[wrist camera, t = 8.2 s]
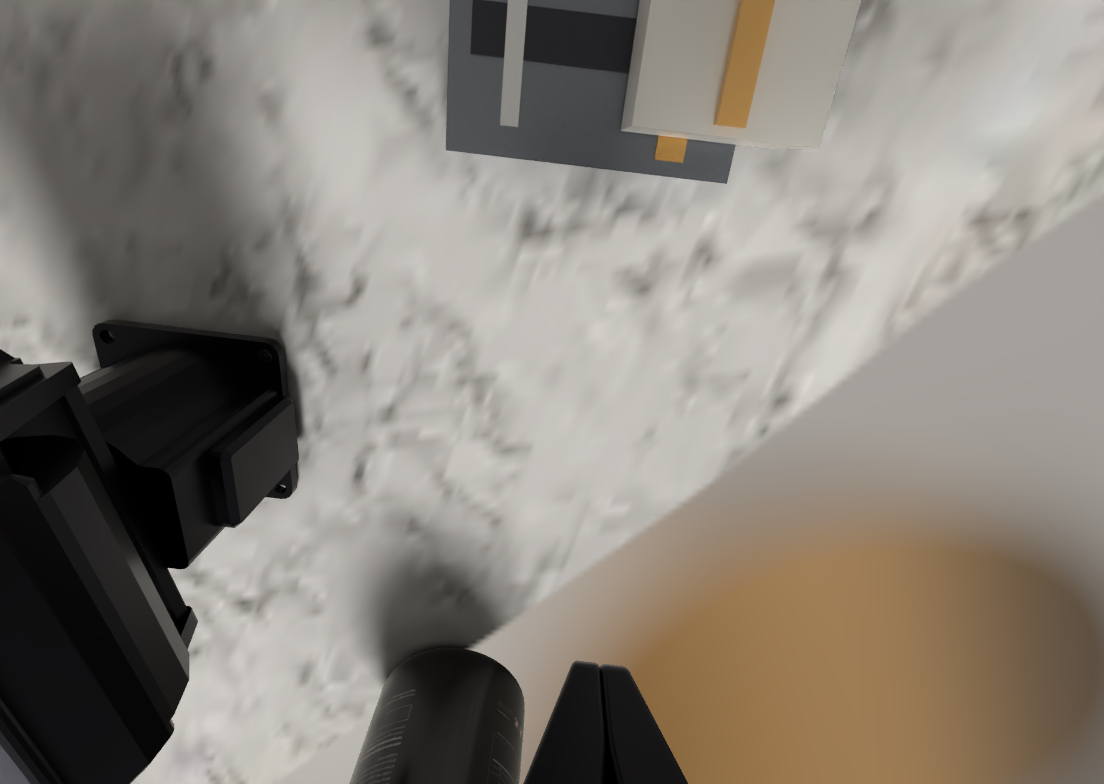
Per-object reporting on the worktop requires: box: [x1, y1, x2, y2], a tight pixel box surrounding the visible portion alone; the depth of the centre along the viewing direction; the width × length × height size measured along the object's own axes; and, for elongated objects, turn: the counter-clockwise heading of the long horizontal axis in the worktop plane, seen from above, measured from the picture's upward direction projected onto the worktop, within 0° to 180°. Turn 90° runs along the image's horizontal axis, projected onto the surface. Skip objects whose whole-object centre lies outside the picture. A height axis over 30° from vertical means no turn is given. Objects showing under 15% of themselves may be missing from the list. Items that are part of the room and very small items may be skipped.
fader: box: [621, 0, 861, 149], centre depth 12 cm, size 4×4×4 cm
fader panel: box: [446, 0, 735, 184], centre depth 15 cm, size 8×6×1 cm
